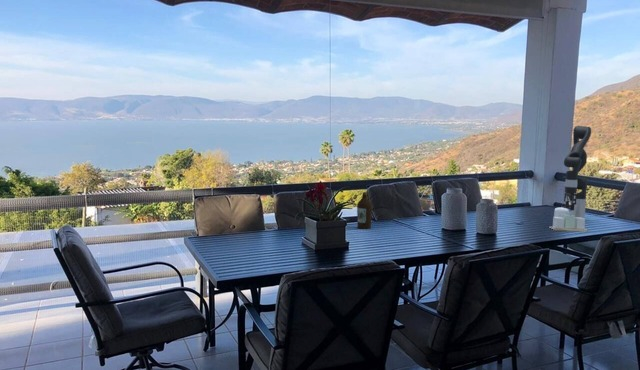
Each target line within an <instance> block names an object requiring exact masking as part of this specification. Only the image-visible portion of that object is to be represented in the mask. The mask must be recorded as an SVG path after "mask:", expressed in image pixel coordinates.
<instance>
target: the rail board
mask: <svg viewBox="0 0 640 370" xmlns="http://www.w3.org/2000/svg"><path fill="white" fill-rule="evenodd" d="M551 227H552V226H549V229H550V228H551ZM552 229H553V228H551V229H550V230H552ZM554 230H555V232H583V231H586V232H589V229H587V228H586V229H553V230H552V231H554Z"/></svg>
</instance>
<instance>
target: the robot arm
mask: <svg viewBox="0 0 640 370" xmlns="http://www.w3.org/2000/svg"><path fill="white" fill-rule="evenodd" d="M572 133H573V134H572V135H573V137H572V139H573V145H572V147H571V150H570V152H569V153H568V155H566V157H565V158H564V160H563V165H564V167H566V168H572V170H568V171H566V172H565V173H566V174H565V182H564V194H563V195H564V197H563V201H564V202H565V205H564V206H565V207H564V208H566V209H569V208H570V209H569V211H571V214H570V215H575V217H582V218H584V219H586V218H585V217H586V216H585V215H586V205H587V203H586V202H587V201H586V200H587V188H588V178H587V177H580V176H579V173H580V171H582V169H583V168H584V167H585V166H586V164H587V159H588V154H587V152H586V150H585V147H586V146H587V143H588V141H589V140H590V138H591V135H592V128H591V127H590V126H582V125H576V126H574V128H573V132H572ZM578 190H581V191H579V192H578Z"/></svg>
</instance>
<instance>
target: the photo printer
mask: <svg viewBox="0 0 640 370" xmlns="http://www.w3.org/2000/svg"><path fill="white" fill-rule="evenodd" d="M564 214H567V215H570V209H569V208H565V207H562V206H561V207H556V208H555V209H554V213H553V217H562V218H563V217H564Z"/></svg>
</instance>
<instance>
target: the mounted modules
mask: <svg viewBox="0 0 640 370" xmlns="http://www.w3.org/2000/svg"><path fill="white" fill-rule="evenodd" d="M585 226H586V218H582V217H575V223H574V228H576V229H585V228H586V227H585ZM552 227H554V228H564V218H562V217H554V216H553V218H552Z"/></svg>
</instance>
